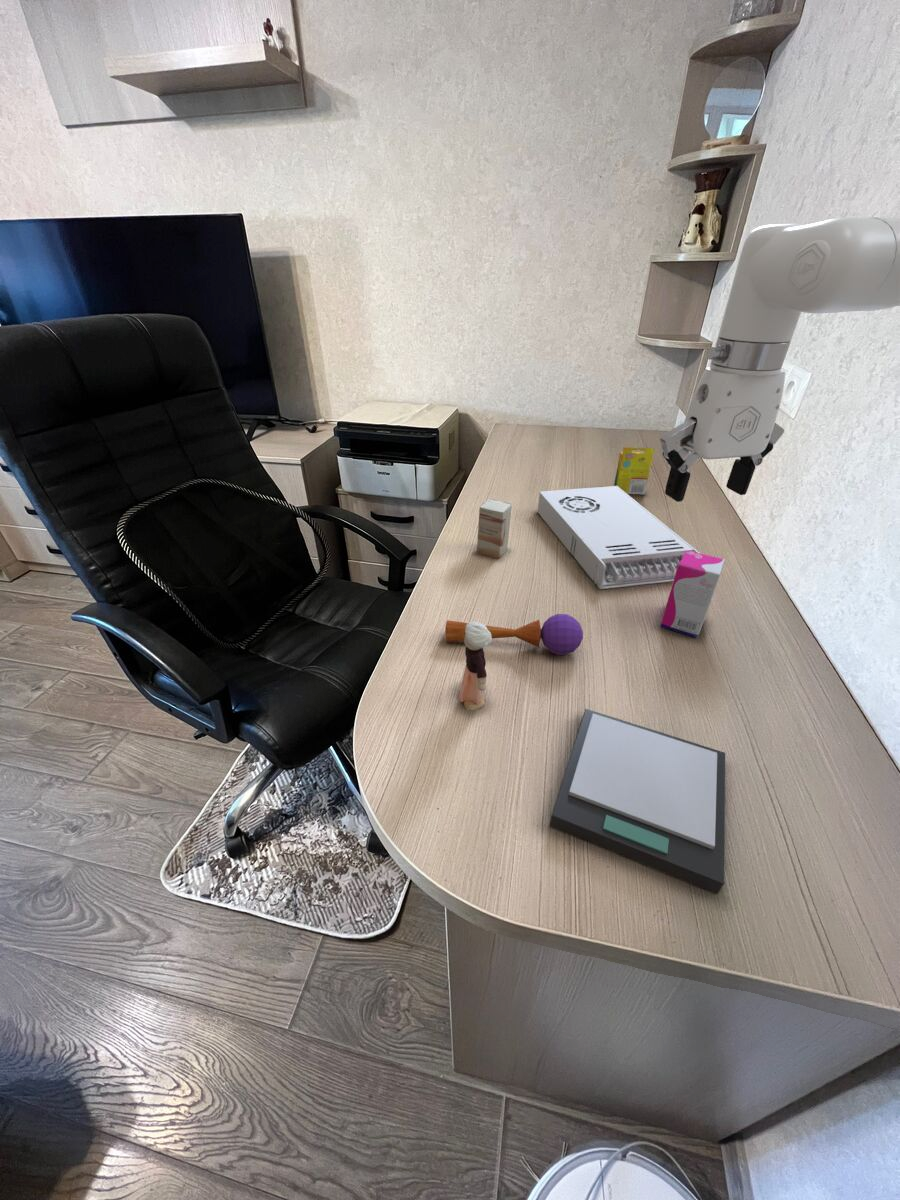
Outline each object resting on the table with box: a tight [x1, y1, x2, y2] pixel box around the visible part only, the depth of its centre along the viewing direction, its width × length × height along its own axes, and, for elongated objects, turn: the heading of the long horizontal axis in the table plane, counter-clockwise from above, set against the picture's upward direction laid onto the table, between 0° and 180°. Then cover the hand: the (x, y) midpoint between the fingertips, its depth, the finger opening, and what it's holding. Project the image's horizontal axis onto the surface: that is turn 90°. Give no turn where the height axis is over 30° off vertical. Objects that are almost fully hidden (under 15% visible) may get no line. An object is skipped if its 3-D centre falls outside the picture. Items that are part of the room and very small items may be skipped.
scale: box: [549, 708, 726, 895], centre depth 54 cm, size 16×16×3 cm
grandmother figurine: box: [458, 620, 493, 712], centre depth 63 cm, size 8×4×13 cm, turn 21°
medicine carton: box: [476, 498, 513, 560], centre depth 97 cm, size 5×4×10 cm
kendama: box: [444, 613, 584, 656], centre depth 74 cm, size 6×6×20 cm
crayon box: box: [613, 446, 655, 496], centre depth 122 cm, size 7×3×12 cm, turn 84°
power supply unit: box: [537, 485, 702, 590], centre depth 102 cm, size 19×33×5 cm, turn 11°
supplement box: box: [660, 550, 725, 639], centre depth 77 cm, size 6×6×12 cm
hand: (704, 494), depth 68 cm, fingers open, 9 cm apart
